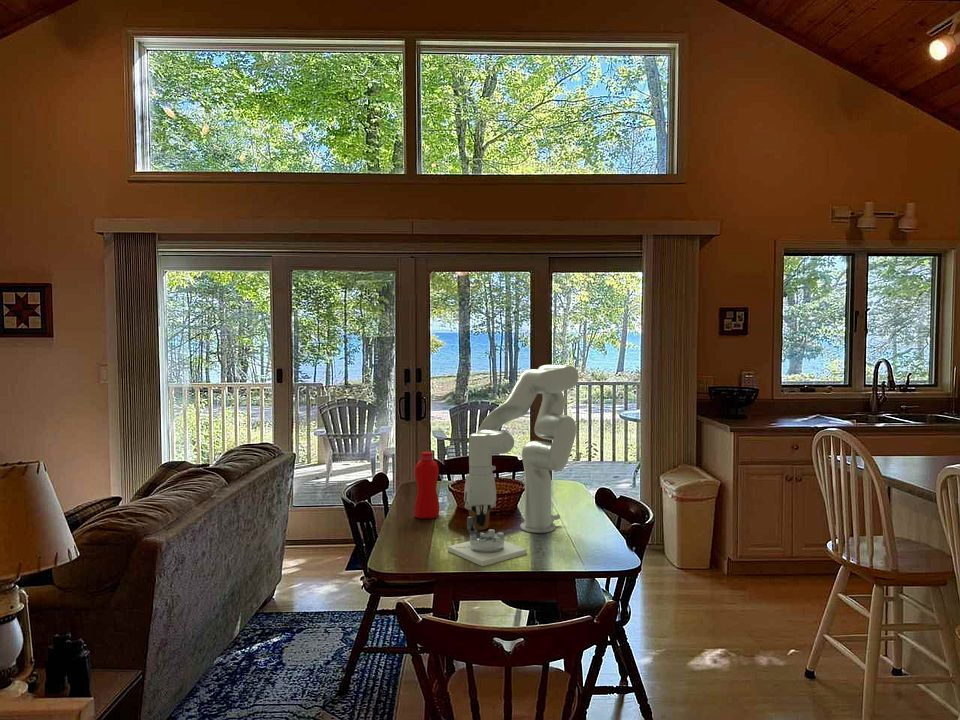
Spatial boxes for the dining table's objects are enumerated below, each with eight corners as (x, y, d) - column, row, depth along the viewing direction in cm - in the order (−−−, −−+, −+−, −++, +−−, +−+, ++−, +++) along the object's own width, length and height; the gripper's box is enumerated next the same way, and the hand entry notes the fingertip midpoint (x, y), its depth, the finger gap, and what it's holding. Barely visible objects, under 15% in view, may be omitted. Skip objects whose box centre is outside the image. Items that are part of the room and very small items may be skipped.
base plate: (490, 540, 216) (490, 535, 216) (526, 553, 202) (526, 548, 202) (447, 550, 205) (447, 546, 205) (482, 566, 191) (482, 561, 191)
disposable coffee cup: (462, 525, 234) (462, 493, 233) (486, 522, 237) (486, 490, 237) (471, 532, 225) (471, 498, 224) (496, 529, 228) (496, 496, 228)
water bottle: (440, 512, 252) (440, 449, 251) (437, 519, 241) (437, 454, 240) (417, 511, 252) (416, 449, 252) (413, 519, 241) (413, 454, 241)
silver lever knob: (511, 547, 203) (511, 522, 203) (485, 555, 196) (485, 529, 196) (480, 537, 214) (480, 513, 214) (455, 543, 207) (455, 519, 207)
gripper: (497, 466, 216) (497, 520, 217) (455, 469, 211) (455, 524, 212) (505, 471, 209) (505, 526, 210) (462, 474, 204) (462, 530, 205)
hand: (480, 525), depth 211 cm, fingers closed
